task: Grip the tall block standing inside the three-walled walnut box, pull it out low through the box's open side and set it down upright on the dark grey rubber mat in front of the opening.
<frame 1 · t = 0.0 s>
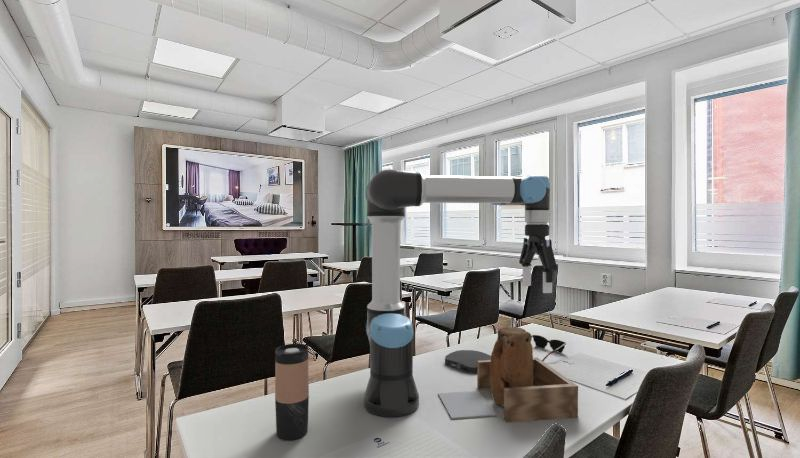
hand: (536, 289, 126), 28 cm above the table, fingers open, 13 cm apart
media streaming box: (469, 365, 136), on the table
open box: (524, 400, 108), on the table
sunglasses: (538, 355, 146), on the table
mat: (465, 404, 105), on the table
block: (511, 402, 107), on the table
travel mug: (292, 433, 91), on the table
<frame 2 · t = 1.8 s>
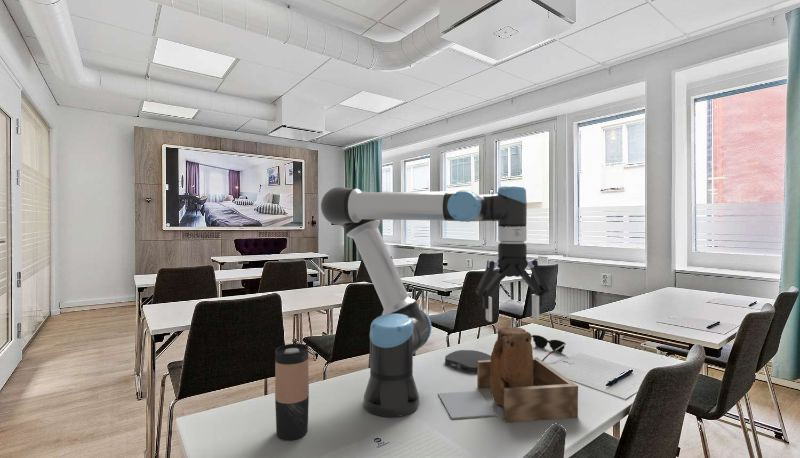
hand: (512, 319, 107), 23 cm above the table, fingers open, 13 cm apart
nothing on the table moved.
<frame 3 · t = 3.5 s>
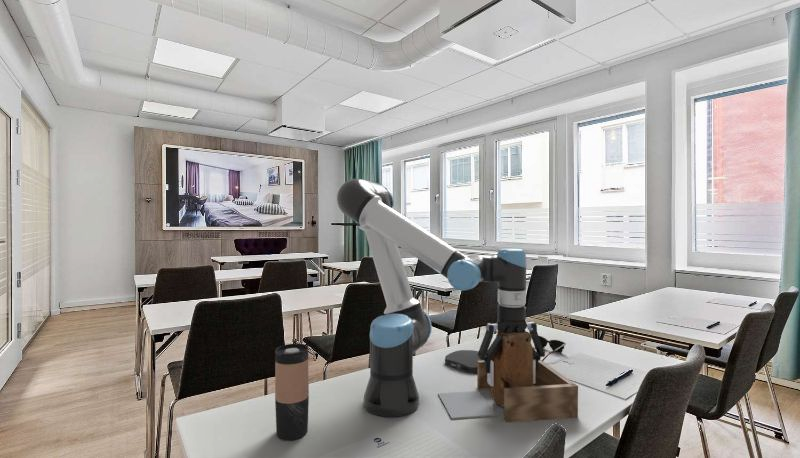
hand: (511, 383, 107), 5 cm above the table, fingers closed on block, 11 cm apart
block: (511, 402, 107), on the table, touching gripper
everything else where it was.
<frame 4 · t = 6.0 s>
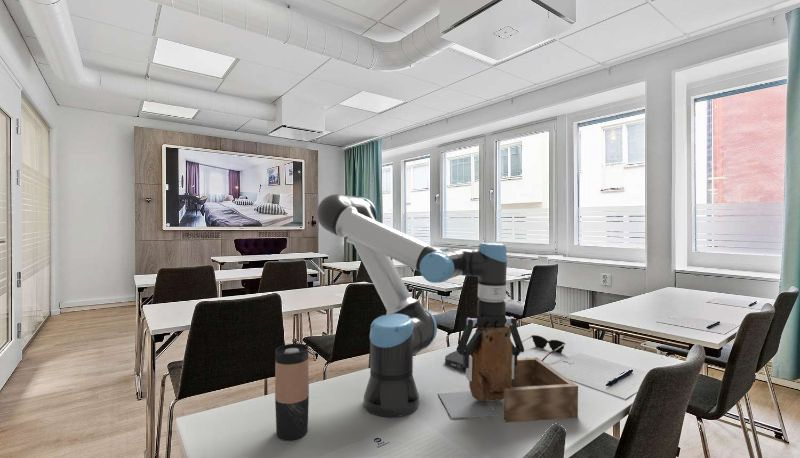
hand: (489, 378, 107), 7 cm above the table, fingers closed on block, 11 cm apart
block: (489, 397, 107), point 1 cm above the table, touching gripper
everything else where it was.
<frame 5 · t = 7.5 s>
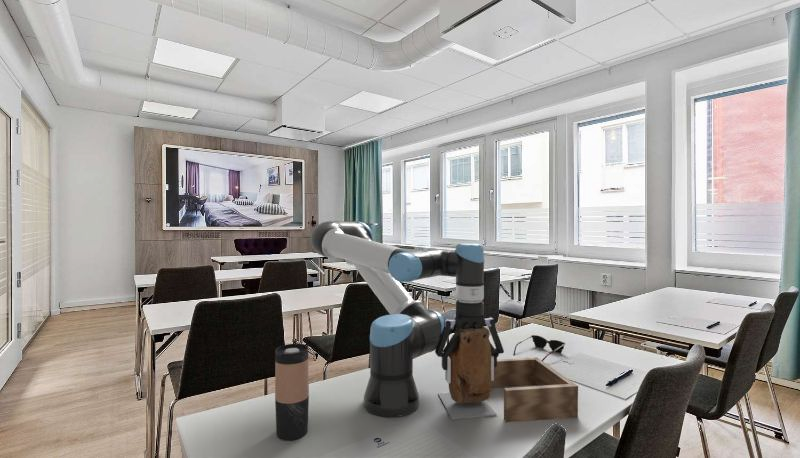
hand: (469, 380, 105), 7 cm above the table, fingers closed on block, 11 cm apart
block: (469, 399, 106), point 1 cm above the table, touching gripper
everything else where it was.
when the fingers open (7 cm above the table, at t = 8.1 s): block stays where it is, resting on mat.
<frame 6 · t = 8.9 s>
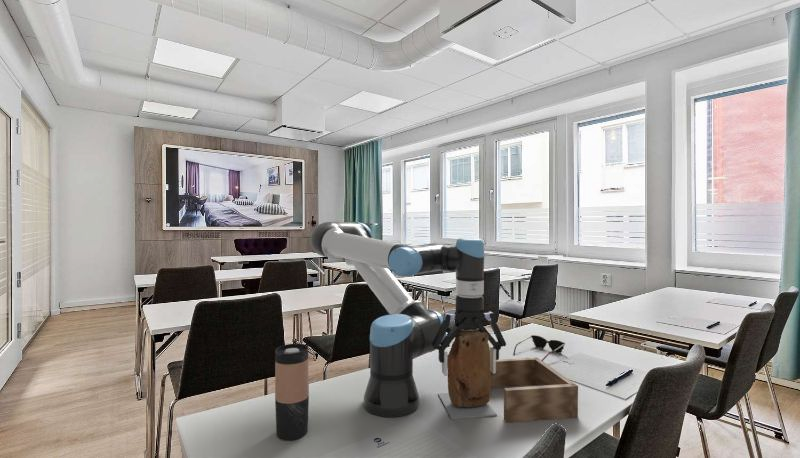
hand: (468, 372, 106), 9 cm above the table, fingers open, 13 cm apart
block: (468, 403, 106), resting on mat
everything else where it was.
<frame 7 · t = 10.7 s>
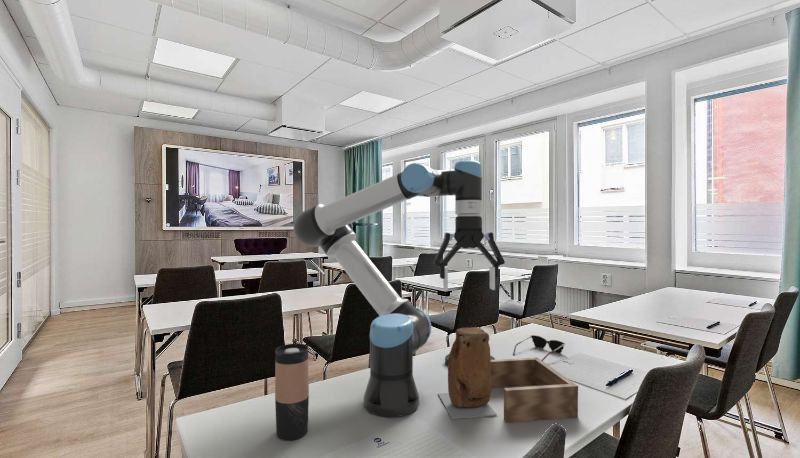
hand: (469, 289, 111), 30 cm above the table, fingers open, 13 cm apart
nothing on the table moved.
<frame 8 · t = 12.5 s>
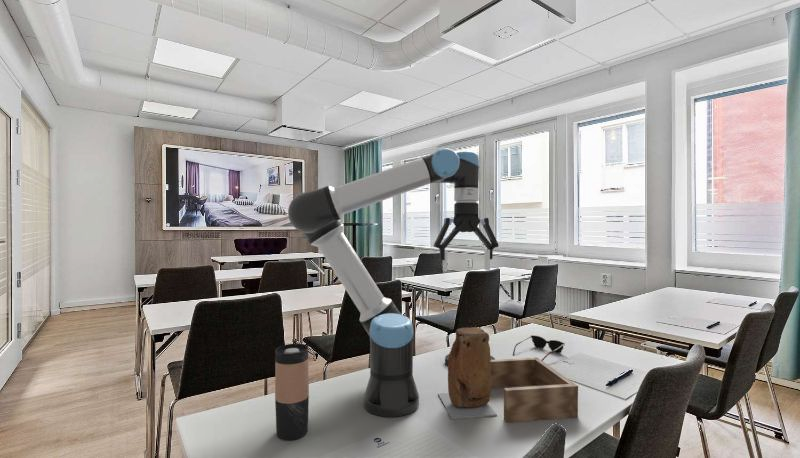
hand: (466, 270, 121), 35 cm above the table, fingers open, 13 cm apart
at the end: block inside the target area (1.4 cm from its centre), resting on mat; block tilted 0°; the gripper is holding nothing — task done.
